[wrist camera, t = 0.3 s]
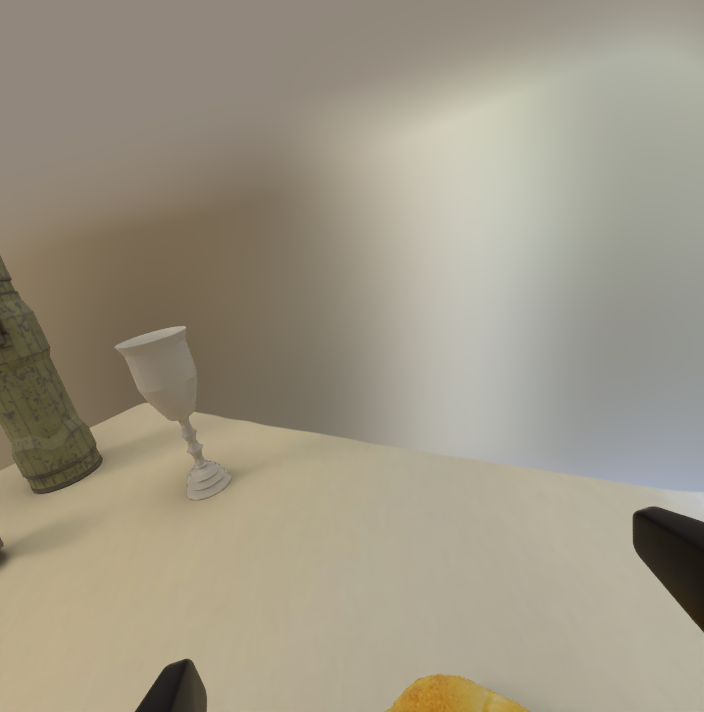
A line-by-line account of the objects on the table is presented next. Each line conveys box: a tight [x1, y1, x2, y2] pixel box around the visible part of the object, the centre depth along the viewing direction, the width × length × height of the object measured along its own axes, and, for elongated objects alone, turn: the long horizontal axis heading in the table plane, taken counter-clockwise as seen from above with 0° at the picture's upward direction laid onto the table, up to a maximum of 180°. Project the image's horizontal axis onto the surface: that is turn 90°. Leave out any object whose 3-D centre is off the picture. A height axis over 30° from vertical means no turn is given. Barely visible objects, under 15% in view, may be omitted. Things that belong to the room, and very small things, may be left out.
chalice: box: [115, 326, 231, 500], centre depth 42 cm, size 7×7×18 cm
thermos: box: [0, 256, 102, 494], centre depth 51 cm, size 9×12×35 cm
